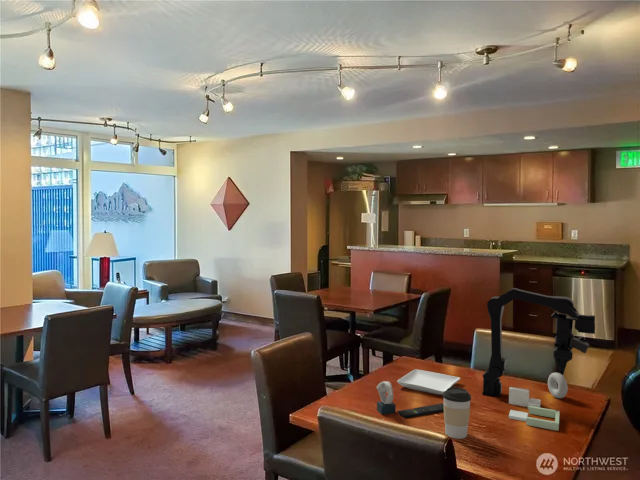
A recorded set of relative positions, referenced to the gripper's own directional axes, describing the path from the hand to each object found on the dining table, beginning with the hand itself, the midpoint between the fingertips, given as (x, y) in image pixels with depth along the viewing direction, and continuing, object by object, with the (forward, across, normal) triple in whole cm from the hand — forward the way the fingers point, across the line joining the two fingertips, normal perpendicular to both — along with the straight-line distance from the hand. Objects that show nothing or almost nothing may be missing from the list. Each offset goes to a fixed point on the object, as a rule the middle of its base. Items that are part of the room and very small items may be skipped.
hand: (561, 370), depth 187 cm
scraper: (+14, -6, +12) cm, 20 cm away
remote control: (+15, -29, +43) cm, 54 cm away
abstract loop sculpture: (+15, -37, +58) cm, 70 cm away
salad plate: (+15, -2, +50) cm, 52 cm away
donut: (+14, +9, +1) cm, 17 cm away
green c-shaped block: (+14, -19, +5) cm, 24 cm away
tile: (+14, -19, +13) cm, 27 cm away
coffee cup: (+14, -44, +30) cm, 55 cm away
